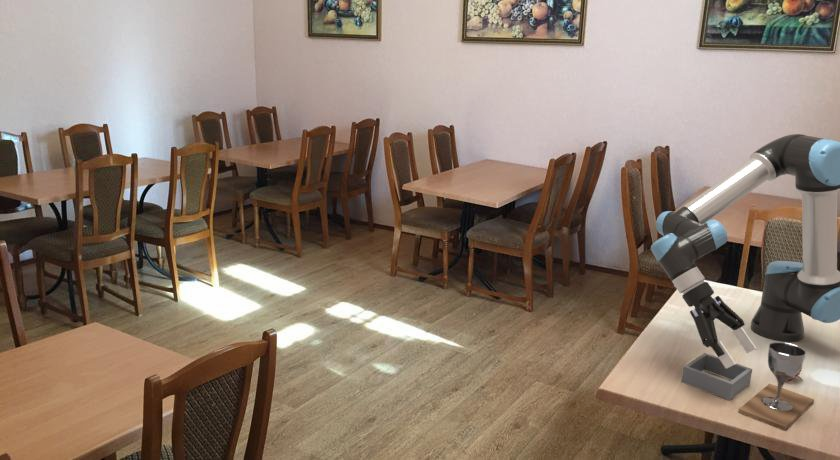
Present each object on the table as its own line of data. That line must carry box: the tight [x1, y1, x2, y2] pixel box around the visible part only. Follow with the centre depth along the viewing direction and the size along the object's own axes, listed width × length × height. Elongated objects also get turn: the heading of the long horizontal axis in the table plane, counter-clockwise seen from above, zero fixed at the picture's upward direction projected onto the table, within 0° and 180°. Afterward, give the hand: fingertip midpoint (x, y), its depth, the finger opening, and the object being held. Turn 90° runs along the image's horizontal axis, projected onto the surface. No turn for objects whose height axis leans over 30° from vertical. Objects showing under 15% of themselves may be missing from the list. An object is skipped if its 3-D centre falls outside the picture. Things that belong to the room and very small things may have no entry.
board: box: [737, 383, 815, 431], centre depth 176 cm, size 20×11×1 cm, turn 134°
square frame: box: [680, 352, 753, 401], centre depth 187 cm, size 13×13×4 cm
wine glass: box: [761, 341, 806, 411], centre depth 174 cm, size 8×8×15 cm
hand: (741, 358), depth 181 cm, fingers open, 13 cm apart
